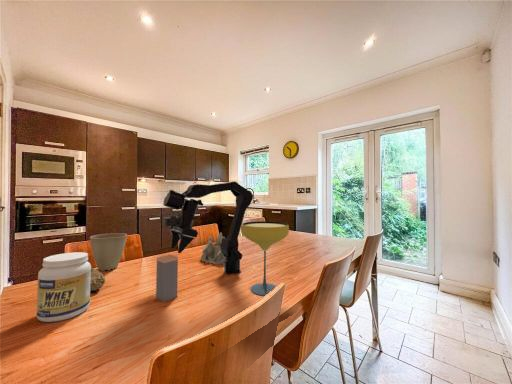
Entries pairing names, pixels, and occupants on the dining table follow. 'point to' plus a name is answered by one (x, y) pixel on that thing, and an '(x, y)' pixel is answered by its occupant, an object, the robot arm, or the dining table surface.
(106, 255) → the plant pot
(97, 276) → the brown rock
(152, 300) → the dining table surface
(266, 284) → the cocktail glass
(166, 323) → the dining table surface
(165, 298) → the charcoal block
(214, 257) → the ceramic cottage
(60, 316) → the supplement tub
